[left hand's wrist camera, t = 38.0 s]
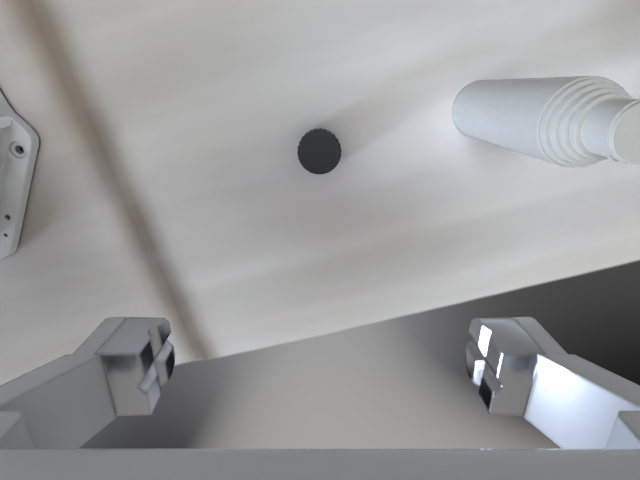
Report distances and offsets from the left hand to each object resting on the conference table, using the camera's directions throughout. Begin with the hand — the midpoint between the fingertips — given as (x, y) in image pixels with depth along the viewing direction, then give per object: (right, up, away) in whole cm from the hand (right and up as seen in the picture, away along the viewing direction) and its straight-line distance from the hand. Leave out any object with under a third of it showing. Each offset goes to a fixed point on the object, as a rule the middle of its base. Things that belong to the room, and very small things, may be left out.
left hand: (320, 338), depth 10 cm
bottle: (+16, +16, +28) cm, 36 cm away
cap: (0, +11, +28) cm, 30 cm away
